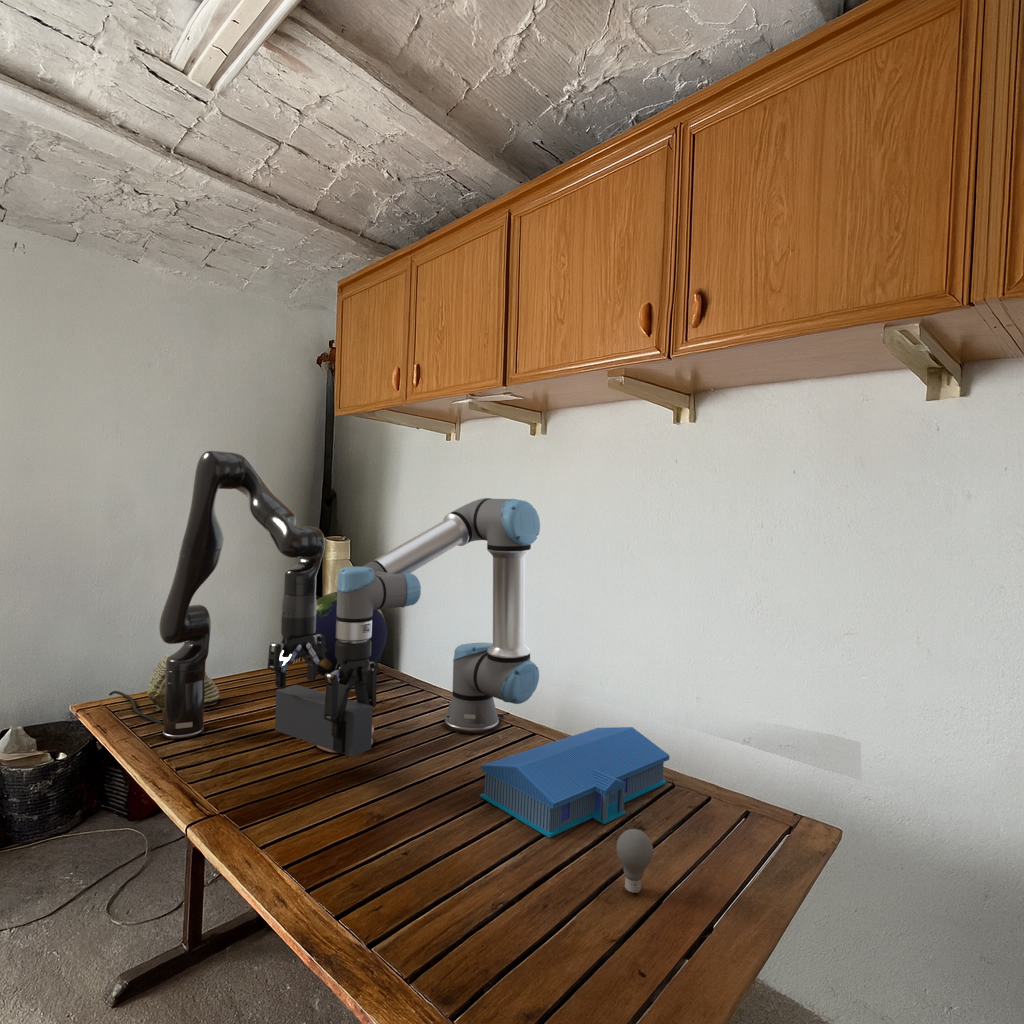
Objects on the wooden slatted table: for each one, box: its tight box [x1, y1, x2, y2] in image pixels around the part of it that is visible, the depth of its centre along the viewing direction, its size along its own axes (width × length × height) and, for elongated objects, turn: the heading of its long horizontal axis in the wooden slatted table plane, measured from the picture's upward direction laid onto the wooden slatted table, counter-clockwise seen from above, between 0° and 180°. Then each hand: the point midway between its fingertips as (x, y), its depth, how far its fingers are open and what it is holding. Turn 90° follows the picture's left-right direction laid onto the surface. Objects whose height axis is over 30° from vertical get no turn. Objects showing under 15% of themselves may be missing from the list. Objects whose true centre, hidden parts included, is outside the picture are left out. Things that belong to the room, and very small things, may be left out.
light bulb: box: [615, 828, 654, 894], centre depth 106 cm, size 6×6×10 cm
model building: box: [479, 726, 670, 839], centre depth 141 cm, size 39×24×10 cm, turn 132°
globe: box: [302, 591, 388, 677], centre depth 220 cm, size 30×30×30 cm
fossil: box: [147, 654, 221, 712], centre depth 185 cm, size 9×18×15 cm, turn 132°
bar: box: [274, 684, 374, 758], centre depth 141 cm, size 25×6×9 cm, turn 59°
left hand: (296, 684), depth 145 cm, fingers open, 8 cm apart
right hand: (349, 746), depth 136 cm, fingers closed on bar, 5 cm apart
